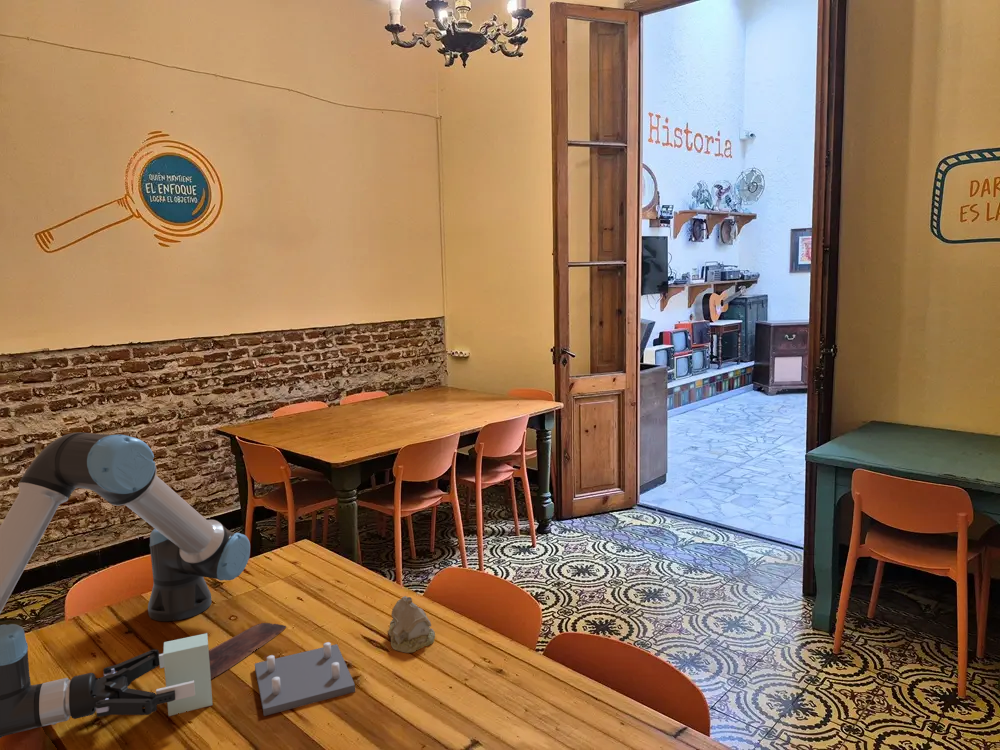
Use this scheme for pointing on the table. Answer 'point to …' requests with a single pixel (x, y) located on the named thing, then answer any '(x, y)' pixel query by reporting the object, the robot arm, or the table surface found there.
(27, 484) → the robot arm
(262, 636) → the wooden tablet
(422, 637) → the ceramic model
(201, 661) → the mint board
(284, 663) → the peg plinth
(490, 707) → the table surface
